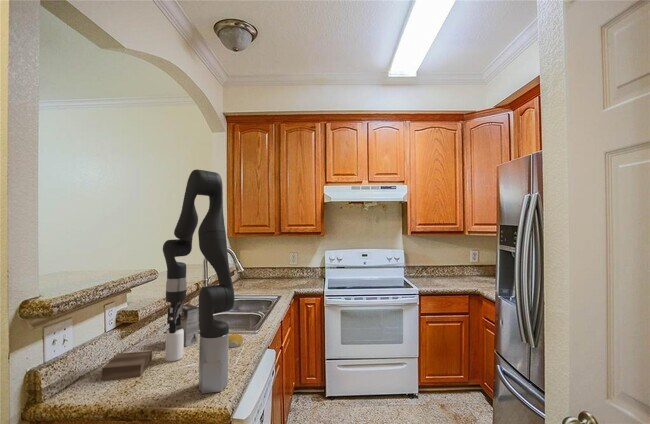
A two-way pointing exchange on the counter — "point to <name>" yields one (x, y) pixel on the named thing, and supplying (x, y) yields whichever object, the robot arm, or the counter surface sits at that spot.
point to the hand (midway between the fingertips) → (175, 329)
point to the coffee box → (190, 324)
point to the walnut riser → (127, 365)
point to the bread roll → (235, 340)
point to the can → (174, 344)
